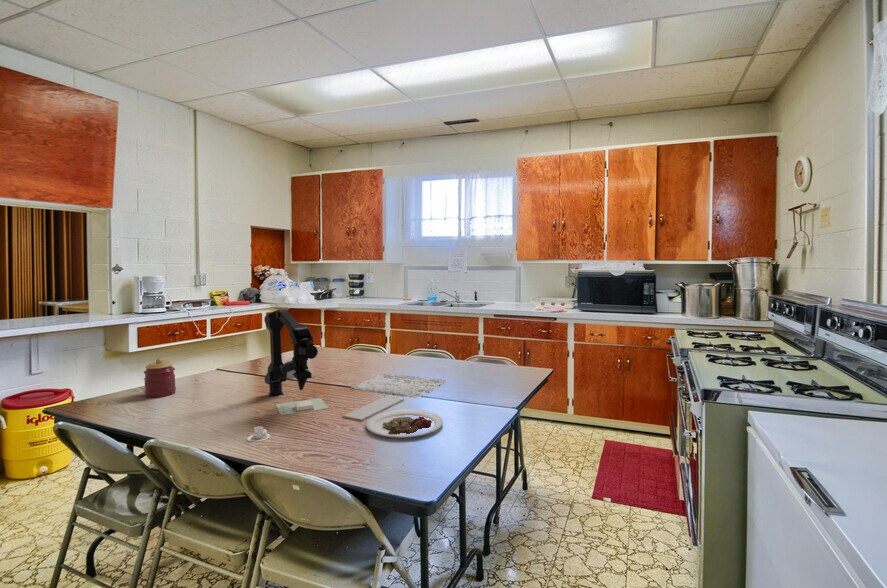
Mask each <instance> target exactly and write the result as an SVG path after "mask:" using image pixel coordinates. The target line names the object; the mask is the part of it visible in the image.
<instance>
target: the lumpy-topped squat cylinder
mask: <svg viewBox="0 0 887 588" xmlns="http://www.w3.org/2000/svg"><path fill="white" fill-rule="evenodd" d="M290 361H292V358H291V359H288V360H286V362H283V364H285V363H287V362H290ZM293 373H295V371H294V370H293V371H290V372H287V378H286V379H296V378H295V377H294V375H293Z"/></svg>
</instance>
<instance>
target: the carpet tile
mask: <svg viewBox="0 0 887 588" xmlns="http://www.w3.org/2000/svg"><path fill="white" fill-rule="evenodd" d="M445 381H446V379H445V380H444V379H442V378H440V379H439V378H429V377H424V378H423V377H419V376H413V375H412V376H410V375H403V374H402V375H392V374H388V373H381V374H378V375H375V376H374V377H372V378H371V379H368V380H364V381H363V382H361V383H358V384H356V385H352V386H350V389H351V390H355V391H364V392H370V393H377V394H378V393H379V394H384V395H392V394H396V395H395V396H401V397H408V398H409V397H410V398H416V397H421V398H422V396H423V395H424V394H422V393H426V395H428V394H429V393H430V392H429V391H431V390H433V389H434V388H436V387H437V388H439V387H440V386H442V385H443V384H442V383H444V382H445ZM445 383H446V382H445ZM445 383H444V384H445ZM436 384H437V385H436ZM441 384H442V385H441ZM439 385H440V386H439ZM438 386H439V387H438ZM437 388H436V389H437ZM434 390H435V389H434ZM434 390H433V391H434ZM424 391H425V392H424ZM428 392H429V393H428ZM431 392H432V391H431ZM427 393H428V394H427ZM418 395H422V396H418ZM424 396H425V395H424ZM424 396H423V397H424Z"/></svg>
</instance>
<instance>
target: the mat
mask: <svg viewBox="0 0 887 588" xmlns="http://www.w3.org/2000/svg"><path fill="white" fill-rule="evenodd" d="M310 400H311V401H312V403H313V404H314V409H313V410H306V411H299V412H297V411H296V409H295V406H294V403H295V402H303V401H310ZM275 406H276V409H277V410H278V412H279V415H280V416H286V415H292V414H299V413H304V412H306V413H307V412H313V411H319V410H329V406H328V405H327V403H325V401H324V400H323V398H321V397H319V398H312V399H305V400H304V399H303V400H297V401H290V402H288V401H287V402H283V403H277V404H276V403H275Z"/></svg>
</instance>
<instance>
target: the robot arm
mask: <svg viewBox="0 0 887 588" xmlns="http://www.w3.org/2000/svg"><path fill="white" fill-rule="evenodd" d="M263 321H264V323H265V327H266V329H267V330H268V331H269V343H270V344H269V345H270V363H269V365H268V366H267V373H266V375H265V377H264V383H265V384H266V385H269V392H268V393H267V395H268V396H269V398H270V397H279V396H284V395H285V393H284V392H283V382H284V383H285V382H287V379H288V378H287V372H290V371H293V370H294V371H295V373H293V375H294V377H295V378H294V379H296V381H297V384H298V388H299V390H300V391H303V389H304V387H305V385H306V383H307V380H308V379H311V378H312V372H311V371H310V370H309V366H308V361H309V360H312V359H315V358H316V357H317V355H318V352H319V351H318V348H317V347H316V345H314V340H313V339H314V338H313V335H312V333H311V331H310V329H309V327H308V326H306V325H305V324H303V323H299V322H298V321H297V320H296V319H295V318H294V316H293V315H291V314H290V313H289V310H288V309H286V308H284V309H277V310H275V311H273V312H270V313H266V315H265V316H264V320H263ZM283 327H285V328H286V329H287V330H288V331H289V334H288V335H289V337H290V339H291V340H292V341H291V344H292V345H293V346H292V347H293V356H292V357H291V360H292V361H290V362H287V361H286V362H287V363H285V362H283V356H282V337H281V336H282V335H281V331H282V329H283ZM284 363H285V364H284Z"/></svg>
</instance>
